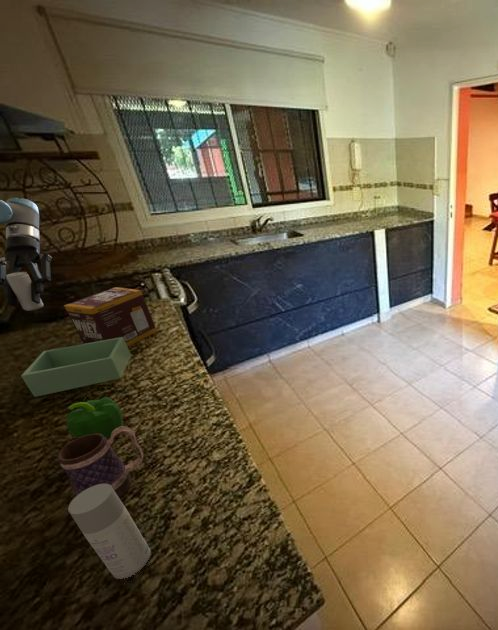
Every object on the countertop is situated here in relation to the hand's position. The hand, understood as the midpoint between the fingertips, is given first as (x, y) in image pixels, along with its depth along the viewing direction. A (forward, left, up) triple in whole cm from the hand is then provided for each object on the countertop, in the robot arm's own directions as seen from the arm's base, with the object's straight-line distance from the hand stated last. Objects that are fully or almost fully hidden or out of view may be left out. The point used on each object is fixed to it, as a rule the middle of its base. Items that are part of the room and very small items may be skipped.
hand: (24, 303), depth 110 cm
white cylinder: (0, +4, -3) cm, 5 cm away
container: (+43, -100, -12) cm, 110 cm away
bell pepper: (+32, -66, -12) cm, 75 cm away
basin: (+21, -36, -11) cm, 43 cm away
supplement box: (+26, -18, -12) cm, 33 cm away
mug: (+38, -83, -12) cm, 92 cm away
